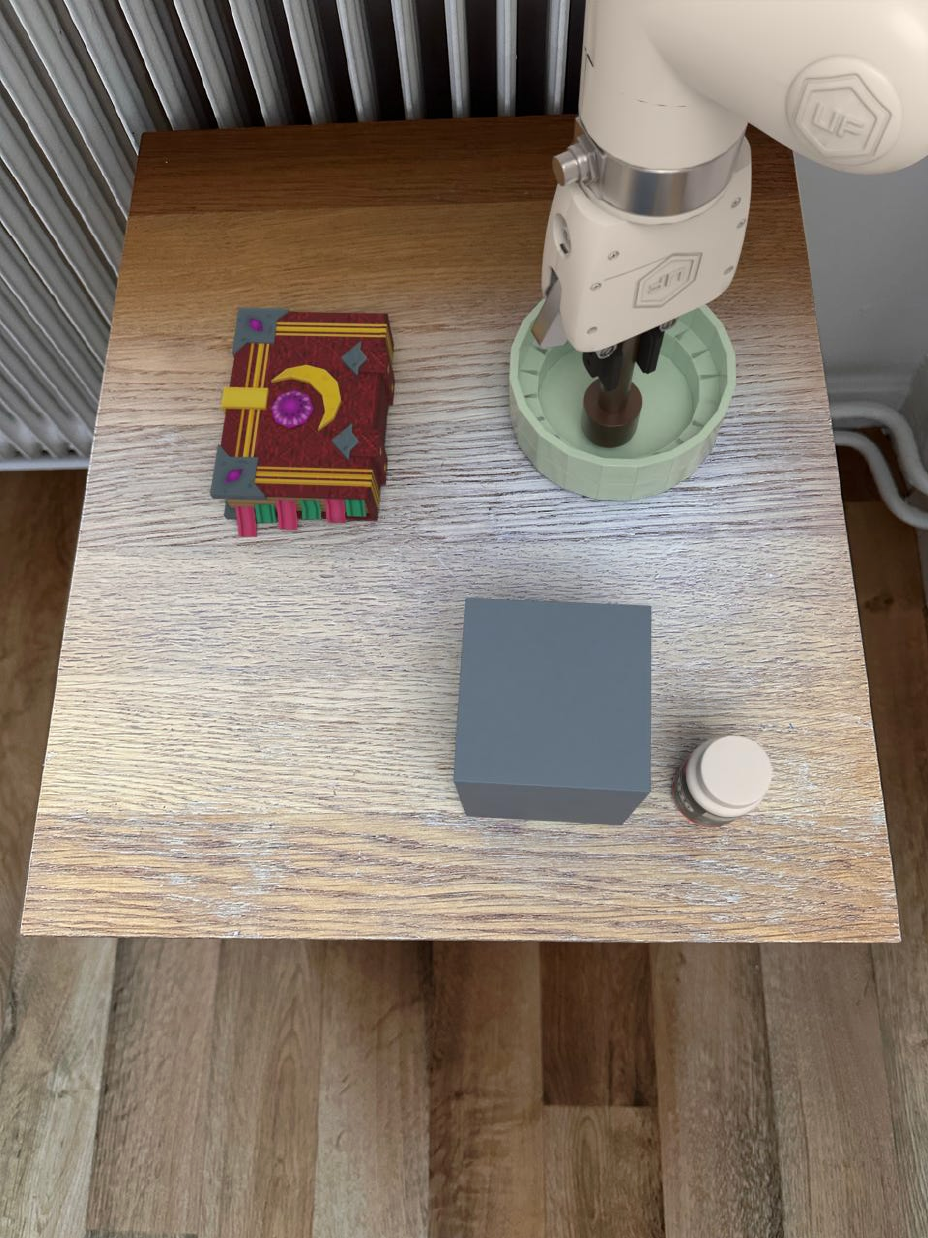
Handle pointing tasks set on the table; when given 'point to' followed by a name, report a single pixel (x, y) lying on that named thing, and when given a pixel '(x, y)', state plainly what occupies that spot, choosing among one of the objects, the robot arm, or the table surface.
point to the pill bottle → (722, 781)
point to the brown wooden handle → (614, 404)
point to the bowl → (669, 420)
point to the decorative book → (305, 418)
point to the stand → (554, 710)
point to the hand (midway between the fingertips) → (619, 362)
